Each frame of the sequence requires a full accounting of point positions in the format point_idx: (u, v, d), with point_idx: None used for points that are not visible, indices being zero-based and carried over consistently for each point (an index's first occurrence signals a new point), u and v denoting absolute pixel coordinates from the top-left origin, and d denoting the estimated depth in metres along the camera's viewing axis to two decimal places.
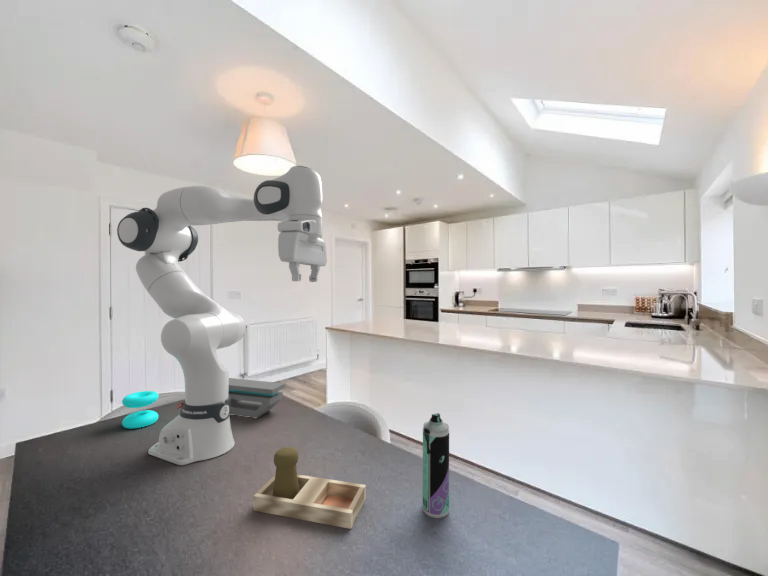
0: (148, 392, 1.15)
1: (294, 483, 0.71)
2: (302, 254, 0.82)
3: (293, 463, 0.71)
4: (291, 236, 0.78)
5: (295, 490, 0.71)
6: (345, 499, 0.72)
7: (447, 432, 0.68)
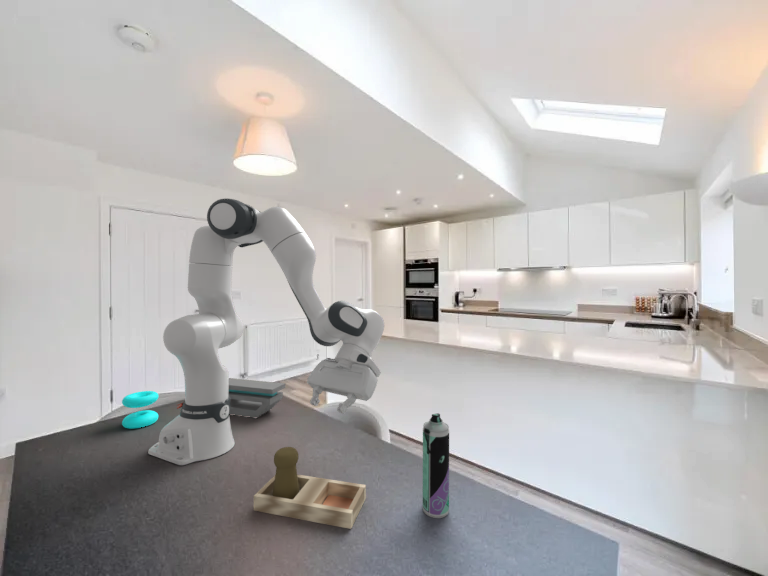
0: (148, 392, 1.15)
1: (294, 483, 0.71)
2: None
3: (293, 463, 0.71)
4: (376, 379, 0.84)
5: (295, 490, 0.71)
6: (345, 499, 0.72)
7: (447, 432, 0.68)
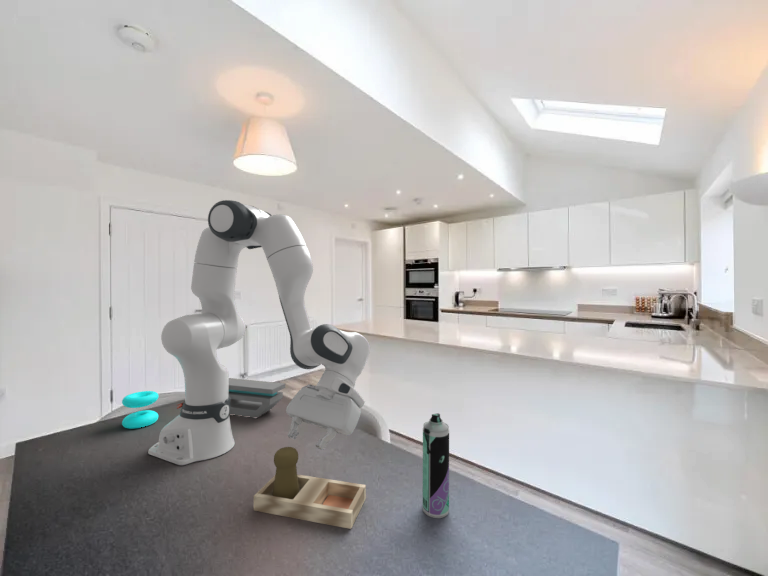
0: (148, 392, 1.15)
1: (294, 483, 0.71)
2: None
3: (293, 463, 0.71)
4: (358, 411, 0.79)
5: (295, 490, 0.71)
6: (345, 499, 0.72)
7: (447, 432, 0.68)
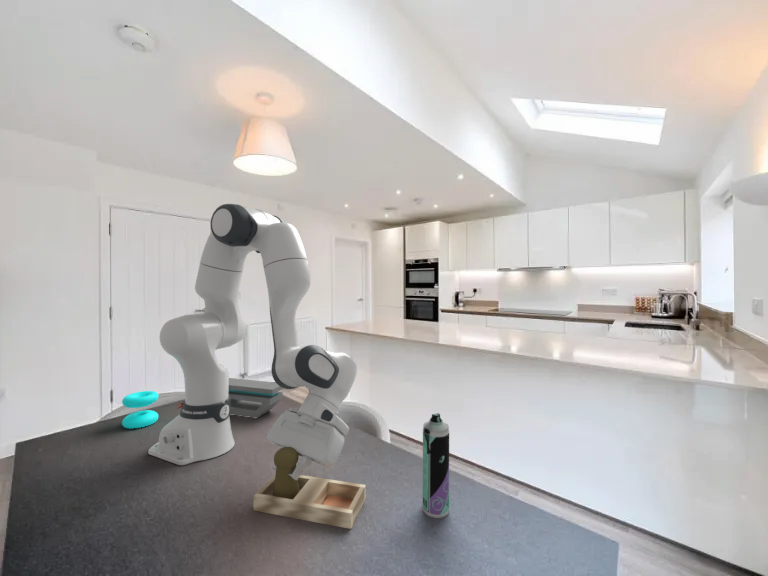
0: (148, 392, 1.15)
1: (294, 482, 0.71)
2: None
3: (293, 463, 0.71)
4: (342, 440, 0.74)
5: (295, 490, 0.71)
6: (345, 499, 0.72)
7: (447, 432, 0.68)
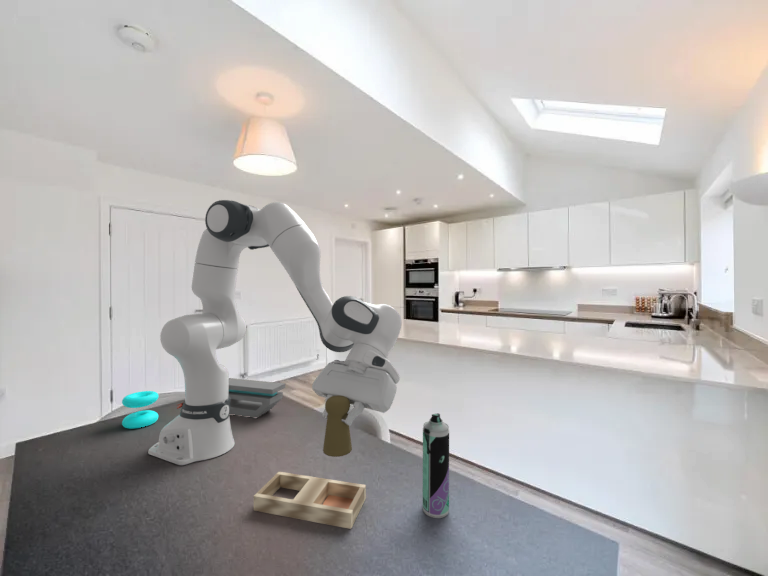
0: (148, 392, 1.15)
1: (347, 430, 0.69)
2: None
3: (346, 410, 0.68)
4: (395, 387, 0.71)
5: (348, 438, 0.69)
6: (345, 499, 0.72)
7: (447, 432, 0.68)
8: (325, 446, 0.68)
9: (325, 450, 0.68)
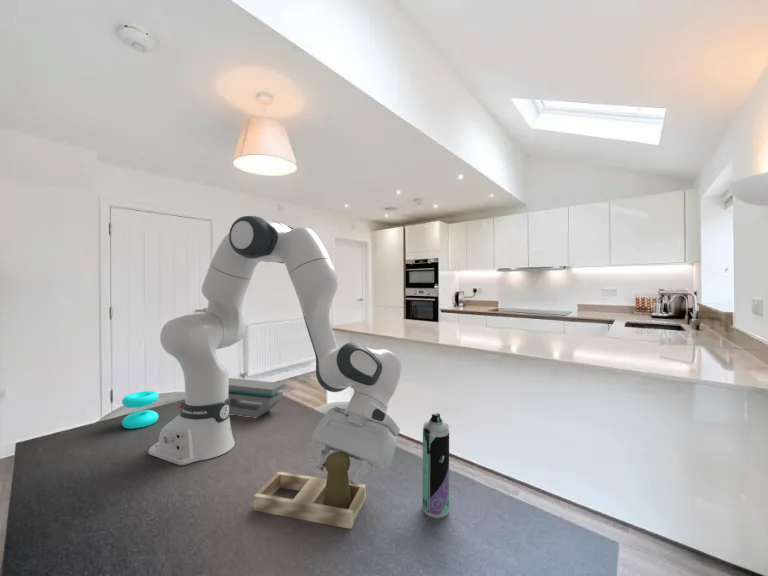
0: (148, 392, 1.15)
1: (347, 489, 0.69)
2: None
3: (346, 469, 0.68)
4: (395, 441, 0.71)
5: (348, 497, 0.69)
6: None
7: (447, 432, 0.68)
8: None
9: None
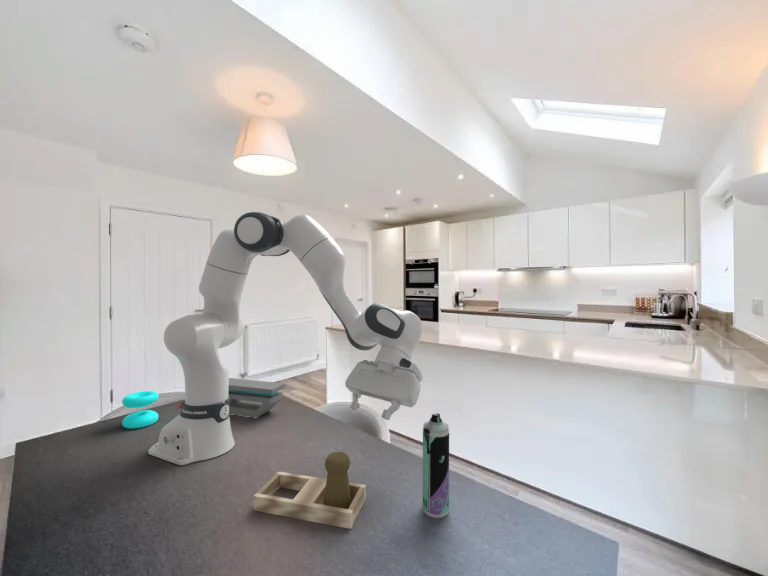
0: (148, 392, 1.15)
1: (347, 489, 0.69)
2: None
3: (346, 469, 0.68)
4: (419, 385, 0.82)
5: (348, 497, 0.69)
6: None
7: (447, 432, 0.68)
8: None
9: None
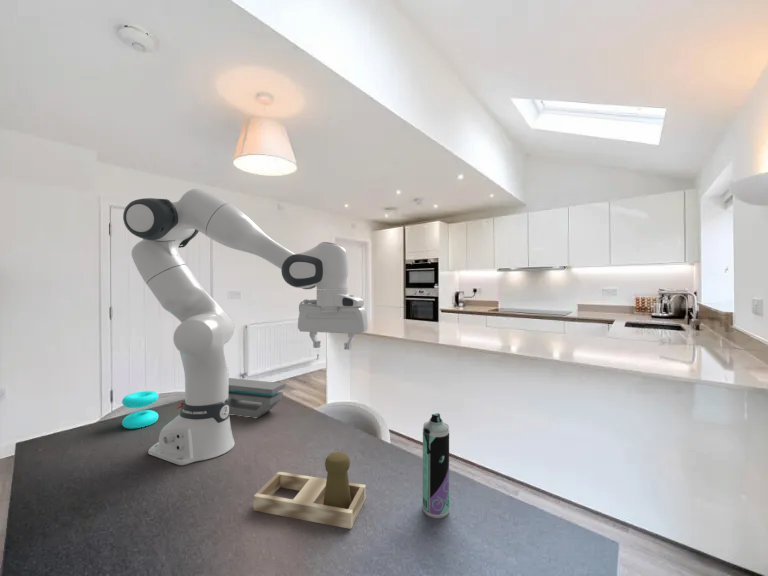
0: (148, 392, 1.15)
1: (347, 489, 0.69)
2: None
3: (346, 469, 0.68)
4: (365, 311, 0.93)
5: (348, 497, 0.69)
6: None
7: (447, 432, 0.68)
8: None
9: None
